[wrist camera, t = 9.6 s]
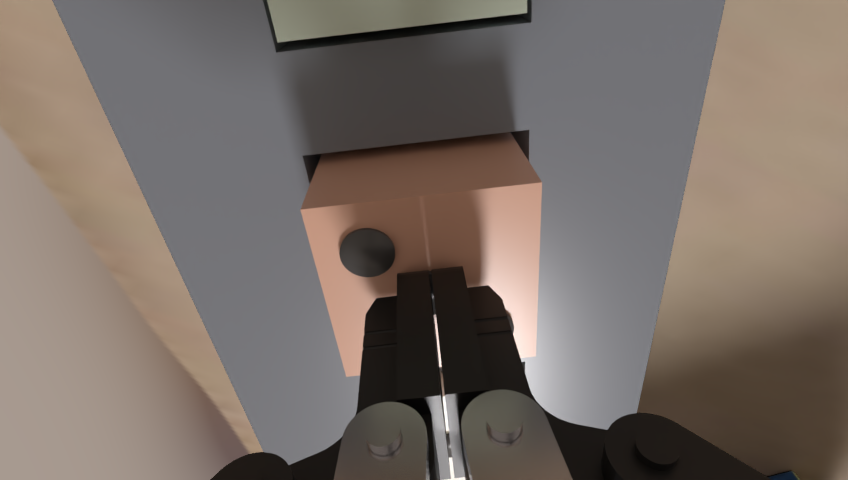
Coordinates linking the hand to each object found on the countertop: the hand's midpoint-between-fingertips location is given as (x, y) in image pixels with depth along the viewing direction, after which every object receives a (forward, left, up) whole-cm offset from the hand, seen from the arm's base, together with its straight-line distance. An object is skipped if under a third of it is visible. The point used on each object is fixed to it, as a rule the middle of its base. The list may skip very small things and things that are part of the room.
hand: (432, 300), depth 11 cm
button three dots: (0, 0, -5) cm, 5 cm away
